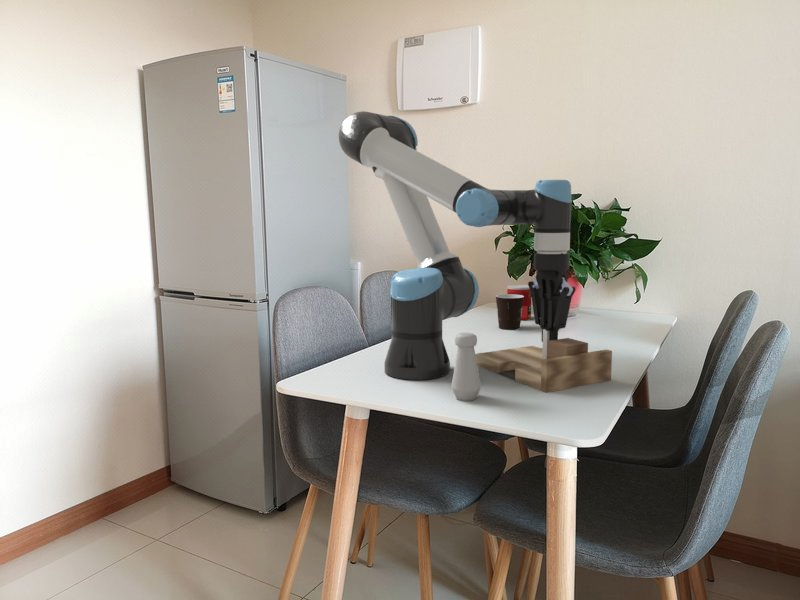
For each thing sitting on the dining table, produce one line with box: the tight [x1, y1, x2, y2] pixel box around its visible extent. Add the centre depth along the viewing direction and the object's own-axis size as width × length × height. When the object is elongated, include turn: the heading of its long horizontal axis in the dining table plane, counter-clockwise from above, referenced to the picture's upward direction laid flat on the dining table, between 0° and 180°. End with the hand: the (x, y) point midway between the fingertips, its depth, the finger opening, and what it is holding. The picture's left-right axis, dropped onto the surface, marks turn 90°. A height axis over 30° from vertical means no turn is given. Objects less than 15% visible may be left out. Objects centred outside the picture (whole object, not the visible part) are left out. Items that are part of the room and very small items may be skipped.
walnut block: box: [547, 337, 589, 359], centre depth 131 cm, size 6×6×6 cm
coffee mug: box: [495, 293, 524, 331], centre depth 188 cm, size 12×9×10 cm
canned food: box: [506, 284, 532, 321], centre depth 204 cm, size 8×8×11 cm
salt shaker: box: [450, 332, 482, 402], centre depth 120 cm, size 6×6×13 cm
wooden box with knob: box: [475, 345, 613, 393], centre depth 138 cm, size 18×26×6 cm
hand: (549, 357), depth 136 cm, fingers closed
